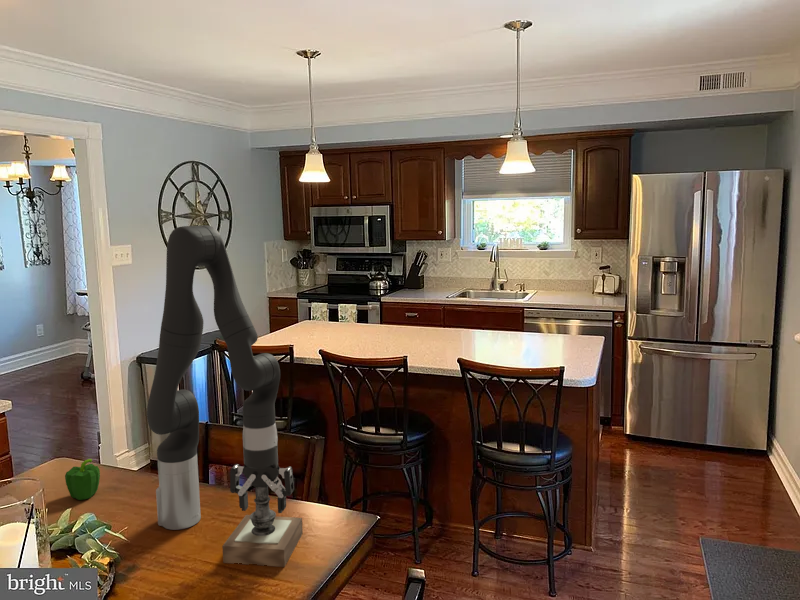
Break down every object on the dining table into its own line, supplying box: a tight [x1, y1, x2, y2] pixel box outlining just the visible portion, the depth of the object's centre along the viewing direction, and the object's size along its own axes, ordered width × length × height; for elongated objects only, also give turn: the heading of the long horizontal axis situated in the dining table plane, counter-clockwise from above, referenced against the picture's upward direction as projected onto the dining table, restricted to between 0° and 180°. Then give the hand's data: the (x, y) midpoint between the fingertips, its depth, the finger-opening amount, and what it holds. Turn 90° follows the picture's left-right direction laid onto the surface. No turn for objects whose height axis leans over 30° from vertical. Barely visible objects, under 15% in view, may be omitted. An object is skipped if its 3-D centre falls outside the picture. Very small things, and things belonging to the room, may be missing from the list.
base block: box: [222, 514, 304, 568], centre depth 140 cm, size 14×14×4 cm
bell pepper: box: [64, 458, 101, 501], centre depth 166 cm, size 8×8×10 cm
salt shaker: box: [249, 486, 277, 536], centre depth 139 cm, size 6×6×12 cm
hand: (263, 510), depth 139 cm, fingers open, 8 cm apart
